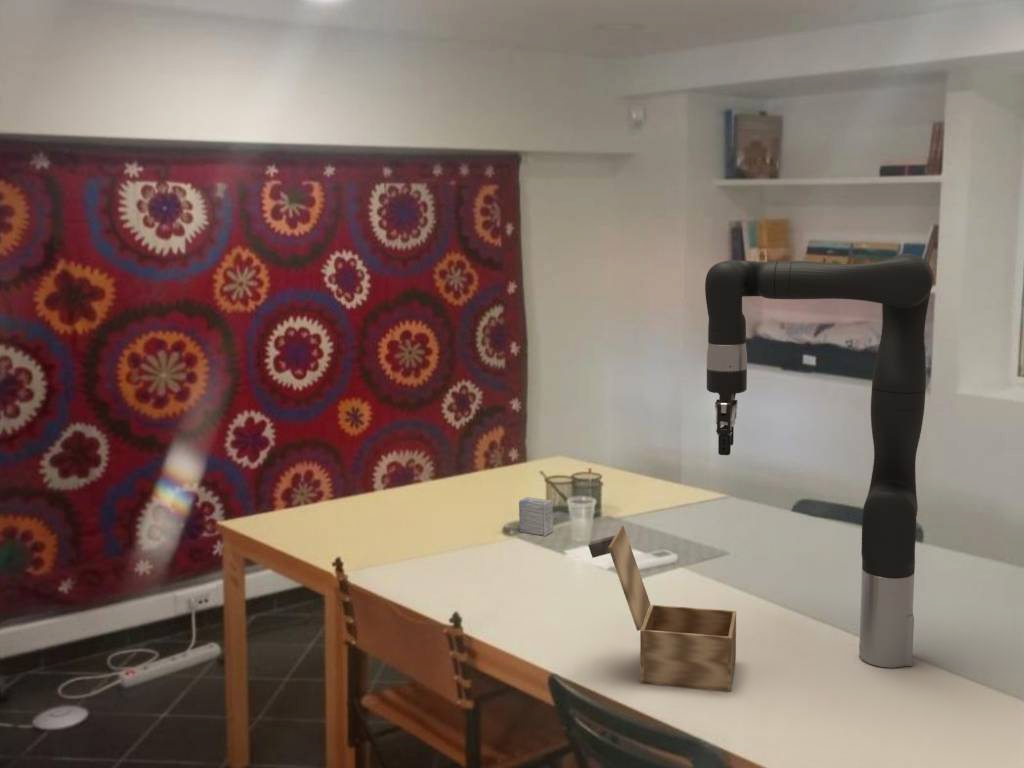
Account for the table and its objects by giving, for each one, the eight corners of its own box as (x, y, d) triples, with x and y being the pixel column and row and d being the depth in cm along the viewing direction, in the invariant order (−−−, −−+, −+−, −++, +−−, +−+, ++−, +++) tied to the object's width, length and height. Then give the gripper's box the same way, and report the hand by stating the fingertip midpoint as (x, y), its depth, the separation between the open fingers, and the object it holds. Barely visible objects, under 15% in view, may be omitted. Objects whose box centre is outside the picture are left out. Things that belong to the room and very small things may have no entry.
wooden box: (735, 661, 207) (736, 611, 206) (730, 691, 195) (731, 638, 193) (650, 654, 211) (650, 604, 210) (640, 683, 199) (640, 630, 197)
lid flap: (623, 525, 209) (595, 533, 210) (611, 546, 196) (582, 554, 198) (650, 604, 210) (622, 611, 211) (640, 630, 197) (611, 637, 199)
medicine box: (553, 532, 290) (553, 500, 288) (544, 536, 286) (544, 504, 284) (528, 528, 294) (527, 496, 292) (519, 532, 290) (518, 500, 289)
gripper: (744, 372, 202) (743, 459, 205) (748, 361, 216) (747, 442, 218) (703, 372, 204) (702, 457, 207) (709, 360, 218) (709, 441, 220)
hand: (726, 449), depth 213 cm, fingers open, 8 cm apart
